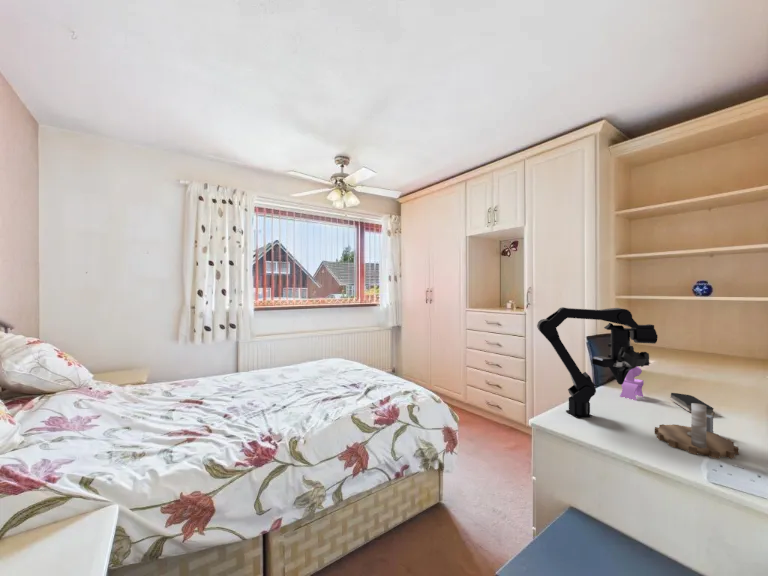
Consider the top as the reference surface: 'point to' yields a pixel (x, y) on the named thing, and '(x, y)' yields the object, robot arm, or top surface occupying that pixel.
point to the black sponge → (689, 402)
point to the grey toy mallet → (709, 423)
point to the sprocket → (697, 436)
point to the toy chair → (632, 384)
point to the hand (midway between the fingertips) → (620, 384)
